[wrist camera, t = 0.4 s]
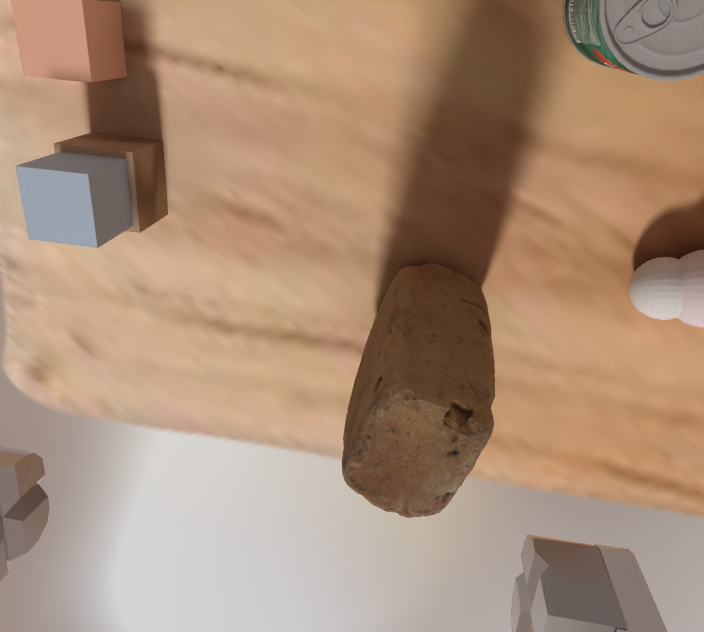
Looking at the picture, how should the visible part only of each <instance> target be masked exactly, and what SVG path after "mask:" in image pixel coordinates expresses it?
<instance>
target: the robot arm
mask: <svg viewBox="0 0 704 632" xmlns="http://www.w3.org/2000/svg"><path fill="white" fill-rule="evenodd" d="M44 475H45V470H44V464H43V459H42V457H40V456H39V455H37V454H36V453H33V452H28V451H22V450H17V449H12V448H7V447H1V446H0V581H1V580H2V579H3V578H4V577H5V576H6V575H7V574H8V572H9V561H10V560H12V559H15V558H17V557H19V556H21V555H23V554H25V553H27V552H28V551H29V550H30V549H31V548H32V547H33V546H34V545H35V544H36V542H37V541H38V540H39V539H40V536H41V534H42V532H43V530H44V528H45V526H46V524H47V521H48V514H49V501H48V496H47V495H46V493H45V492H44V491H43V489H42V488H41V487H40V485H39V482H40V481H41V480H42V478H43V477H44ZM521 557H522V563H523V570H524V572H523V573H522V574H520V575H519V576H518V577H516V581H515V586H514V591H513V597H512V610H511V625H512V632H667V630H666V627H665V625H664V623H663V621H662V618H661V616H660V613H659V611H658V609H657V606H656V604H655V602H654V600H653V597H652V595H651V592H650V590H649V588H648V585H647V583H646V581H645V578H644V576H643V574H642V571H641V569H640V567H639V565H638V562H637V560H636V557H635V555H634V554H633V553H632V552H631V551H630V550H629V549H624V548H616V547H610V546H602V545H596V544H595V545H589V544H582V543H576V542H570V541H564V540H558V539H552V538H545V537H539V536H533V535H527V538H526V540H525V542H524V546H523V550H522V554H521Z"/></svg>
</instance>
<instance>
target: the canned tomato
mask: <svg viewBox="0 0 704 632" xmlns="http://www.w3.org/2000/svg"><path fill="white" fill-rule="evenodd" d="M563 21H564V25H565V29H566V33H567V35H568V37H569V39H570V42H571V44H572V45H573V46H574V47H575V49H576V50H577V51H578V53H580V54H581V55H582V56H583V57H585V58H586V59H587V60H589V61H591V62H593V63H595V64H597V65H601V66H605V67H610V68H614V69H618V70H622V71H626V72H630V73H634V74H637V75H640V76H643V77H646V78H650V79H655V80H663V81H676V80H682V79H688V78H693V77H696V76H698V75H701V74H704V0H564V3H563Z"/></svg>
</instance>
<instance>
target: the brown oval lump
mask: <svg viewBox="0 0 704 632" xmlns="http://www.w3.org/2000/svg"><path fill="white" fill-rule="evenodd" d="M494 373H495V369H494V356H493V347H492V340H491V325H490V319H489V314H488V308H487V303H486V300H485V297H484V294H483V292H482V289H481V288H480V286H479V285H477V284H476V283H474V282H473V281H471V280H469V279H468V278H466V277H465V276H464V275H462V274H460V273H458V272H456V271H454V270H452V269H450V268H448V267H445V266H442V265H438V264H433V263H426V264H424V265H407V266H404V267H403V268H401V269H400V270H398V272H397V273H396V275H395V277H394V278H393V280H392V282H391V284H390V286H389V288H388V290H387V293H386V295H385V297H384V299H383V301H382V303H381V306H380V308H379V310H378V312H377V315H376V318H375V321H374V324H373V327H372V329H371V332H370V334H369V337H368V340H367V343H366V346H365V349H364V352H363V355H362V359H361V362H360V366H359V369H358V373H357V376H356V378H355V382H354V386H353V390H352V394H351V398H350V402H349V407H348V413H347V417H346V423H345V429H344V437H343V440H344V444H343V445H344V450H343V458H342V473H343V476H344V480H345V482H346V483H347V485H348V486H349V487H351V488H352V489H353V490H354V491H356V492H357V493H359V494H361V495H363V496H364V497H365V498H366V499H367V500H368V501H369V502H370V503H371V504H373V505H375V506H377V507H379V508H381V509H383V510H385V511H388V512H396V513H398V514H399V515H401V516H404V517H407V518H410V517H421V516H430V515H434V514H437V513H440V511H442V509H444V508H445V507H446V506H447V505H448V503H449V502H450V500H451V499H452V497H453V496H454V494H455V493H456V491H457V490H458V488H459V487H460V486H461V485H462V483H463V481H464V480H465V478H466V477H467V475H468V474H469V473H470V472H471V470H472V469H473V467H474V465H475V463H476V460H477V458H478V457H479V455H480V453H481V451H482V450H483V449H484V447H485V446H486V444H487V442H488V440H489V438H490V436H491V433H492V430H493V427H494V420H493V415H492V411H491V405H492V402H493V400H494V397H495V377H494Z"/></svg>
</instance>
